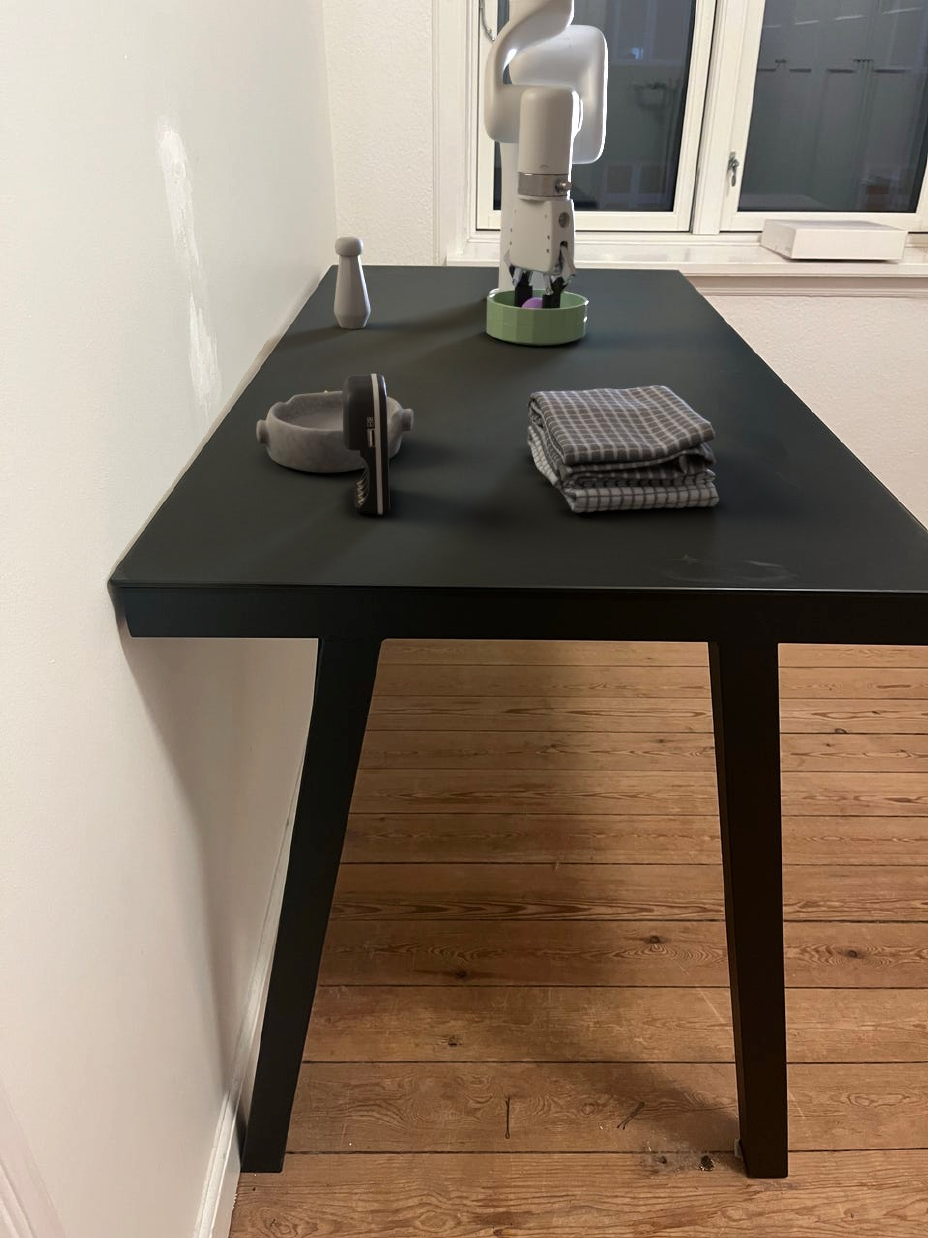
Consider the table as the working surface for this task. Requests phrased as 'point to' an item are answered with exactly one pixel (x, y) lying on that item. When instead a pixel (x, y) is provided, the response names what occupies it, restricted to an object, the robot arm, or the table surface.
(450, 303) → the table surface
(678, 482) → the towel
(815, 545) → the table surface
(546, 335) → the bowl
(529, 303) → the ball
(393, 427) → the dish
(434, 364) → the table surface
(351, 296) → the salt shaker
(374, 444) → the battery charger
